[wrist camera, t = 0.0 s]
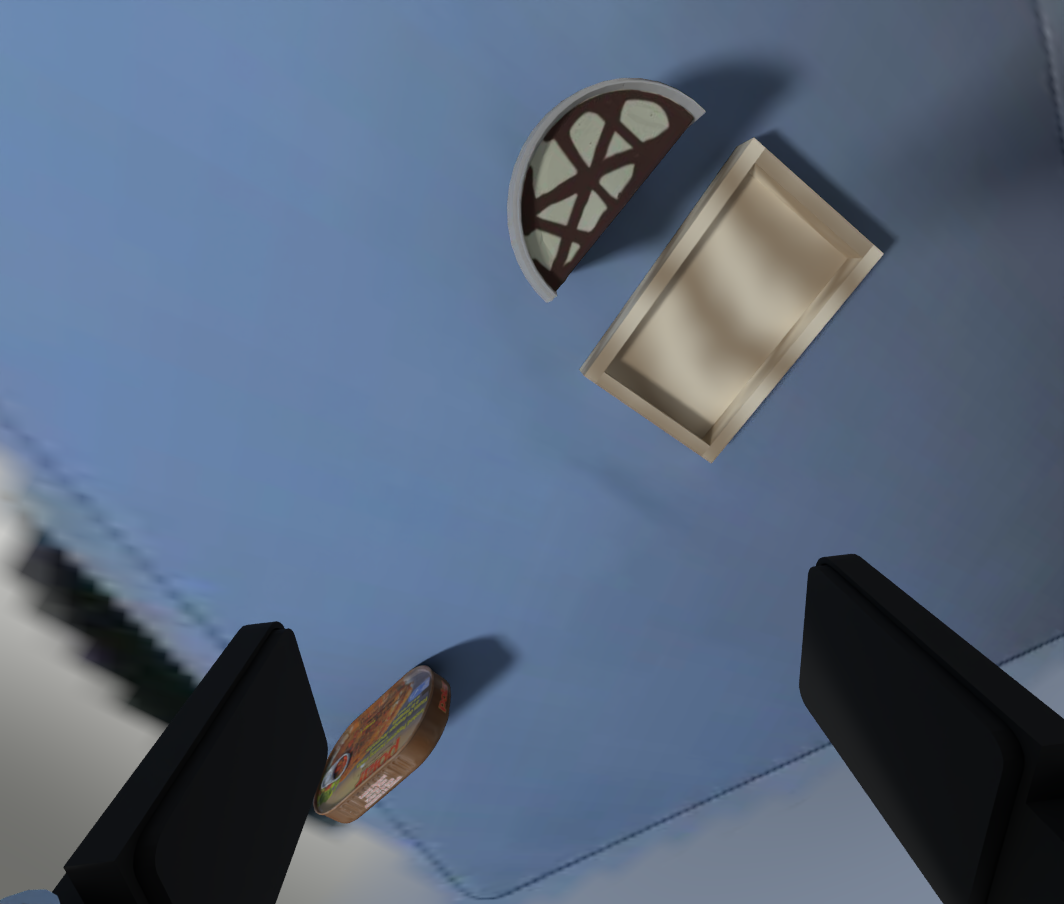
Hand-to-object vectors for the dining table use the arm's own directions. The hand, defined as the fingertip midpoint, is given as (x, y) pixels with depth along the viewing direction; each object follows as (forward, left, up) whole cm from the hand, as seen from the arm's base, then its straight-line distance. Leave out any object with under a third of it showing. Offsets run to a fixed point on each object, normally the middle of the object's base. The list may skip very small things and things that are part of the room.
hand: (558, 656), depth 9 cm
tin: (+33, +8, -32) cm, 46 cm away
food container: (-11, -4, -31) cm, 34 cm away
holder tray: (-11, +10, -31) cm, 35 cm away
